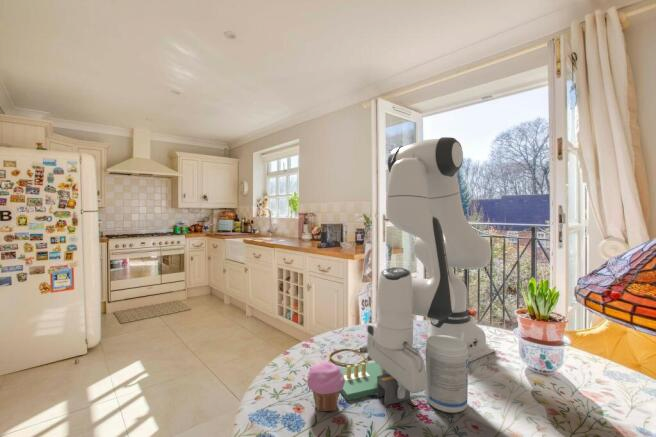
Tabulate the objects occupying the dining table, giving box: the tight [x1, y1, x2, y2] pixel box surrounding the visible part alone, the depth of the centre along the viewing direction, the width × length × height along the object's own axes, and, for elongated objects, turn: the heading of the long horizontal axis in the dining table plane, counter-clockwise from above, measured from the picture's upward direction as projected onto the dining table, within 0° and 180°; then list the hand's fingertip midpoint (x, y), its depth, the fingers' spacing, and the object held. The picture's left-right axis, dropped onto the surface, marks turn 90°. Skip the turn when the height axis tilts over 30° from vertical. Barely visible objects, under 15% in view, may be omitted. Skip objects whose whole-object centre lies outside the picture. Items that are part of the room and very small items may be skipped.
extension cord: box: [329, 345, 372, 367], centre depth 100 cm, size 12×16×2 cm
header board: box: [340, 361, 382, 402], centre depth 85 cm, size 17×12×4 cm
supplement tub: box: [424, 335, 469, 414], centre depth 76 cm, size 10×10×15 cm
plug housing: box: [376, 374, 411, 406], centre depth 78 cm, size 7×4×5 cm, turn 112°
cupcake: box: [306, 361, 345, 412], centre depth 74 cm, size 9×9×10 cm
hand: (393, 391), depth 78 cm, fingers closed on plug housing, 4 cm apart
